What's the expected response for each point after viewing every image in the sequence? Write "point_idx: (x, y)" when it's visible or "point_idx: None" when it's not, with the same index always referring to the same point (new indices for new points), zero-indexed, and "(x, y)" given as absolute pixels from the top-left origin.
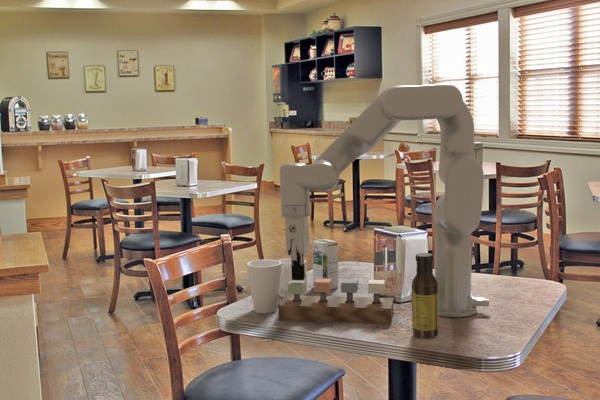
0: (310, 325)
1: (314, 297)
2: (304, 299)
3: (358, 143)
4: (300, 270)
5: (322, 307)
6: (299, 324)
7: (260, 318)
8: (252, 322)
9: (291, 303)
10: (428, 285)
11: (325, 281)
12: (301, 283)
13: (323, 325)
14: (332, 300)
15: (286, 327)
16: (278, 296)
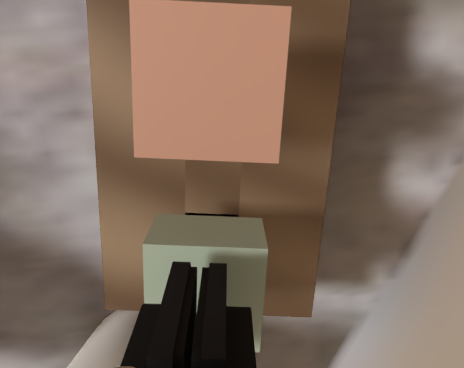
0: (377, 125)
1: (133, 145)
2: (186, 199)
3: None
4: (228, 343)
5: (339, 71)
6: (359, 179)
7: (271, 345)
8: (326, 364)
9: (274, 259)
10: None
11: (249, 55)
12: (230, 263)
13: (380, 59)
14: None
15: (401, 228)
16: (127, 339)
